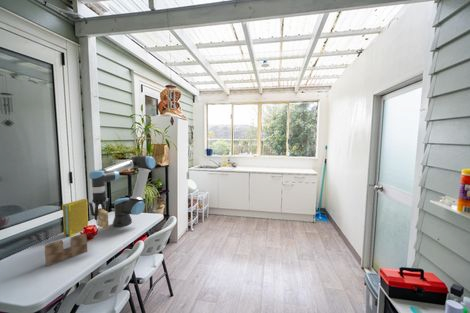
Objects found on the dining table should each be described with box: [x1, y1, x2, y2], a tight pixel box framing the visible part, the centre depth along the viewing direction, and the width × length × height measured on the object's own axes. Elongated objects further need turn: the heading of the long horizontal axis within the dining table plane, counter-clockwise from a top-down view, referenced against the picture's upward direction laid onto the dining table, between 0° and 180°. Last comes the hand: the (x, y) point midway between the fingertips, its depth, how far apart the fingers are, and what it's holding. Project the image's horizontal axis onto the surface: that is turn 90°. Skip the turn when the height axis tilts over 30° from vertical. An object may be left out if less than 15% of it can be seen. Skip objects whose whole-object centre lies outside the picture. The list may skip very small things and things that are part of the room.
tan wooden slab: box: [96, 207, 110, 231], centre depth 140 cm, size 3×14×12 cm, turn 52°
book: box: [61, 198, 89, 237], centre depth 161 cm, size 17×7×25 cm, turn 168°
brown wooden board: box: [44, 232, 88, 266], centre depth 124 cm, size 20×3×12 cm, turn 142°
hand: (100, 223), depth 143 cm, fingers closed on tan wooden slab, 3 cm apart
